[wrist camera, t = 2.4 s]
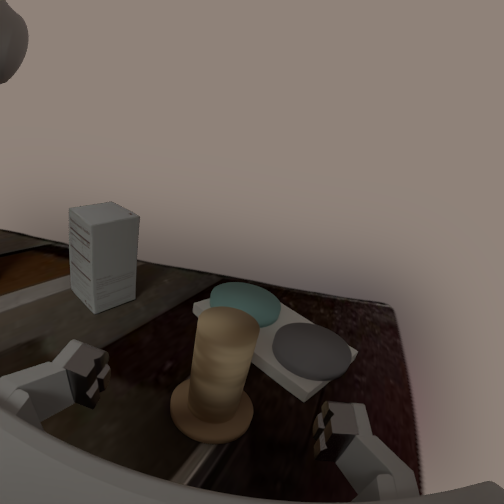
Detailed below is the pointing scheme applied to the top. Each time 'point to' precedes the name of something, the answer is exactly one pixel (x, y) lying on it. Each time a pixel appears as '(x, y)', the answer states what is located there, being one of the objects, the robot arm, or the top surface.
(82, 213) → the supplement box
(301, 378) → the double oval pad board
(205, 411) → the brown cylinder round base
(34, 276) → the top surface
